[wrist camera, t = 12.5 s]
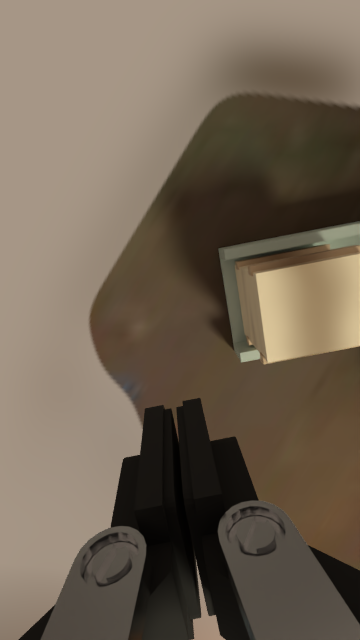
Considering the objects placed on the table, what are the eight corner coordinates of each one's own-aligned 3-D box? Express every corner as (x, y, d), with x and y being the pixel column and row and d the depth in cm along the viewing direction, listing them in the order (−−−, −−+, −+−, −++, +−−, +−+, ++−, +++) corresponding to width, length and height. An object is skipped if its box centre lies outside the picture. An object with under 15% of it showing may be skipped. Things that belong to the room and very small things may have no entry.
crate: (319, 243, 28) (367, 245, 21) (326, 323, 30) (373, 348, 23) (232, 260, 28) (253, 267, 21) (244, 338, 30) (267, 368, 23)
